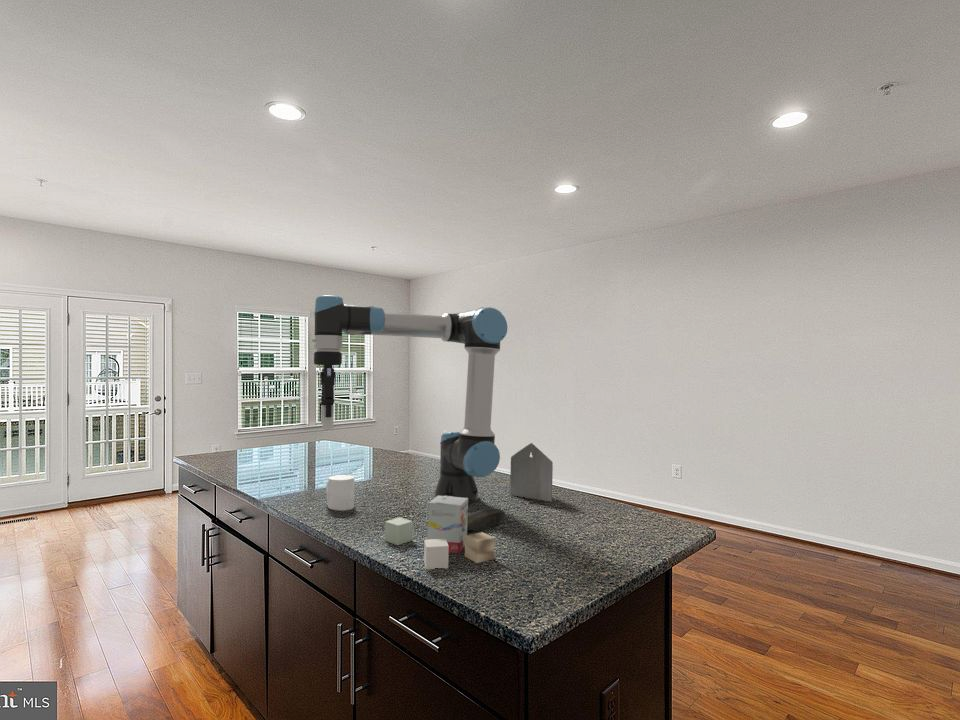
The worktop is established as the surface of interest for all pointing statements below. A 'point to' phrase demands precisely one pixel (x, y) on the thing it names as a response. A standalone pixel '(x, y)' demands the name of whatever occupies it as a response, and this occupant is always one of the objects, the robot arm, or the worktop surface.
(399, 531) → the sage cube
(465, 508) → the ink box
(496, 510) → the decorative stone
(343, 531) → the worktop surface
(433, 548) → the off-white cube
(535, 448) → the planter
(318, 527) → the worktop surface
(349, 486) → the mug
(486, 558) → the maple cube
